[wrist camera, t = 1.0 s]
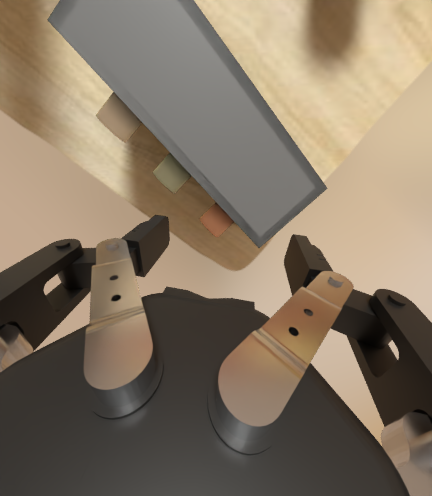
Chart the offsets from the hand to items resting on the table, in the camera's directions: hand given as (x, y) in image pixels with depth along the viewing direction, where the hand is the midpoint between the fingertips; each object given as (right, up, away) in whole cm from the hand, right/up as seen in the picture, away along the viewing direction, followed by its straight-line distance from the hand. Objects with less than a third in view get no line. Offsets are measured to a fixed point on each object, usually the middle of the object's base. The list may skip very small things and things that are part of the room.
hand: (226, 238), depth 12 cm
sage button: (-6, +11, +15) cm, 20 cm away
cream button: (-12, +18, +13) cm, 25 cm away
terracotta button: (+1, +5, +18) cm, 18 cm away
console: (-2, +17, +21) cm, 27 cm away
